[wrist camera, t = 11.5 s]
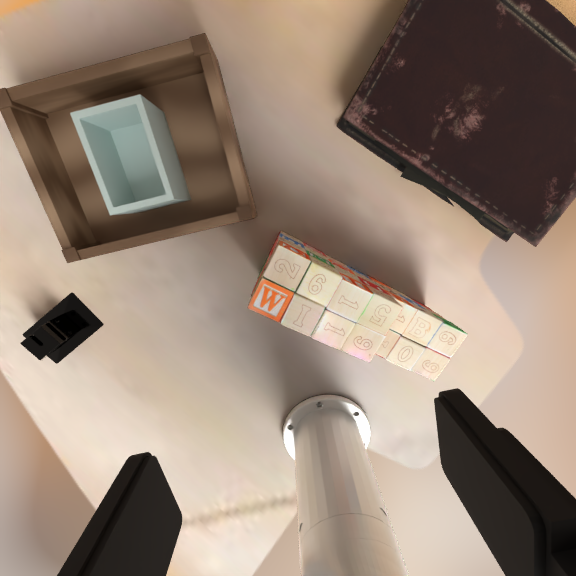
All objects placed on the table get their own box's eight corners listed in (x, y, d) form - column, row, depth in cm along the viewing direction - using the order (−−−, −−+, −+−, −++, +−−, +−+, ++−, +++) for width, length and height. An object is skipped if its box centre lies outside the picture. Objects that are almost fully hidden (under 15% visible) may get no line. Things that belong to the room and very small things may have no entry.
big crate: (257, 216, 35) (253, 218, 30) (97, 254, 36) (67, 263, 31) (217, 60, 31) (205, 33, 26) (36, 109, 32) (-10, 91, 27)
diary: (432, -45, 29) (462, -95, 24) (609, 102, 33) (666, 84, 28) (330, 135, 33) (339, 123, 28) (499, 247, 37) (532, 253, 32)
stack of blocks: (426, 304, 39) (490, 349, 27) (400, 343, 40) (449, 402, 28) (279, 229, 36) (278, 243, 24) (257, 274, 37) (245, 309, 25)
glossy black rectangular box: (78, 279, 37) (51, 289, 33) (121, 321, 39) (101, 336, 35) (14, 335, 39) (-20, 352, 35) (57, 373, 41) (31, 393, 37)
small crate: (191, 199, 34) (174, 199, 28) (136, 213, 34) (109, 215, 29) (164, 112, 31) (140, 94, 26) (105, 127, 31) (69, 112, 26)
